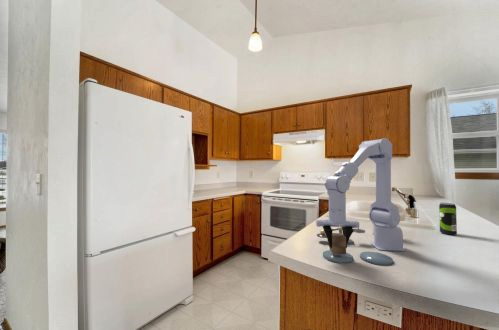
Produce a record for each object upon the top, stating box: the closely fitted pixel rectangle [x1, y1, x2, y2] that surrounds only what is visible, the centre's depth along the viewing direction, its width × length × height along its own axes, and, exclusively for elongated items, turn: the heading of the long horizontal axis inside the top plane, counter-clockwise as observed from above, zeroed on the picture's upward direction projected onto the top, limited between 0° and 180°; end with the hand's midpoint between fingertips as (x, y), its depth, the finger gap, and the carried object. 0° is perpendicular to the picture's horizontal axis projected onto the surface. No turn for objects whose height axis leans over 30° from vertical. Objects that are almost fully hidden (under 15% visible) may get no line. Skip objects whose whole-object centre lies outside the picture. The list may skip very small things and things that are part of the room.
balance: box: [316, 227, 366, 245], centre depth 94 cm, size 20×5×8 cm, turn 83°
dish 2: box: [359, 251, 394, 266], centre depth 76 cm, size 10×10×1 cm
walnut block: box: [329, 232, 347, 254], centre depth 78 cm, size 4×4×6 cm
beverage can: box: [438, 202, 458, 236], centre depth 108 cm, size 6×6×15 cm
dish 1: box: [322, 249, 354, 264], centre depth 78 cm, size 10×10×1 cm
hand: (337, 247), depth 78 cm, fingers closed on walnut block, 4 cm apart
